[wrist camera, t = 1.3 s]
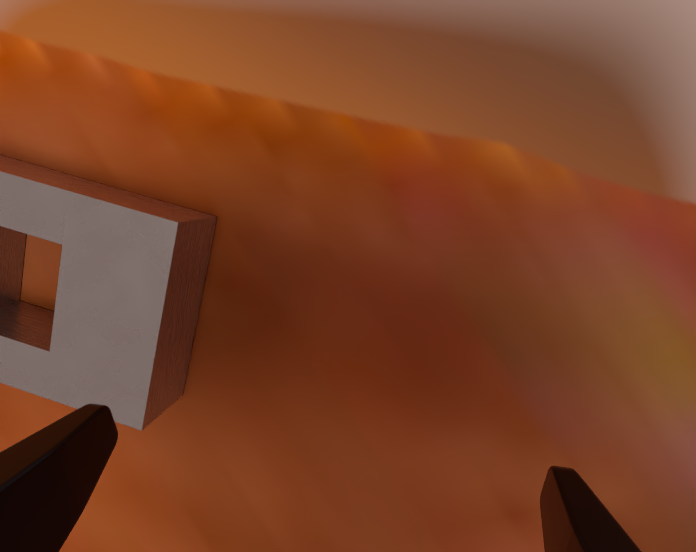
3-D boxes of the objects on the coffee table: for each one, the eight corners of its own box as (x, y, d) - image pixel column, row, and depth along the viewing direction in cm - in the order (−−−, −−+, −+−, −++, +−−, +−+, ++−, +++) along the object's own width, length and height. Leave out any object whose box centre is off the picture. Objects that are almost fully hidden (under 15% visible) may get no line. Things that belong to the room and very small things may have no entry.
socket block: (182, 394, 27) (141, 430, 23) (-63, 314, 28) (-140, 335, 24) (217, 216, 24) (178, 222, 20) (-52, 140, 26) (-136, 132, 22)
